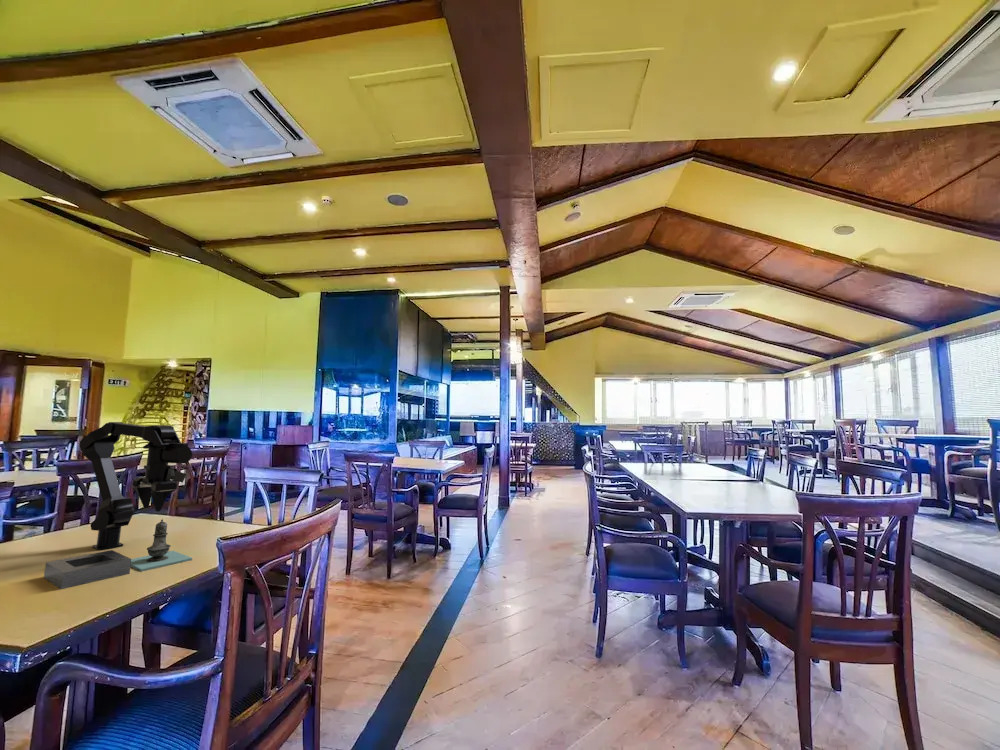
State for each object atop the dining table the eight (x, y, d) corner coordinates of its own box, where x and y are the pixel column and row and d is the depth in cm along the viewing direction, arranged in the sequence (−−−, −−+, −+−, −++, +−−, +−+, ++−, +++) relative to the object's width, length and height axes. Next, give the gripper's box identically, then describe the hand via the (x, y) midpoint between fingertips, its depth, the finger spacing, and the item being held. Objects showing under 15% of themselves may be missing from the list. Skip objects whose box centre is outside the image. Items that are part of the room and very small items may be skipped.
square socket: (43, 577, 116) (46, 562, 117) (110, 563, 128) (112, 550, 129) (60, 589, 109) (63, 572, 109) (129, 573, 121) (131, 558, 121)
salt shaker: (140, 561, 129) (144, 520, 130) (157, 555, 135) (161, 516, 136) (158, 562, 129) (162, 521, 130) (174, 556, 134) (178, 517, 136)
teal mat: (122, 562, 129) (123, 560, 130) (172, 552, 141) (173, 550, 141) (141, 571, 123) (141, 569, 123) (192, 559, 134) (192, 557, 134)
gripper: (197, 462, 148) (192, 509, 146) (172, 459, 157) (167, 502, 156) (159, 465, 138) (153, 514, 136) (134, 461, 148) (129, 507, 146)
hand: (152, 509), depth 144 cm, fingers open, 9 cm apart
